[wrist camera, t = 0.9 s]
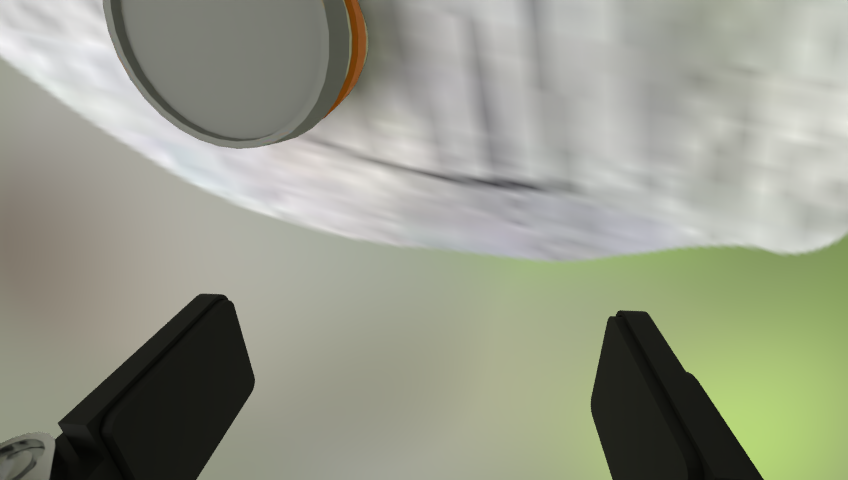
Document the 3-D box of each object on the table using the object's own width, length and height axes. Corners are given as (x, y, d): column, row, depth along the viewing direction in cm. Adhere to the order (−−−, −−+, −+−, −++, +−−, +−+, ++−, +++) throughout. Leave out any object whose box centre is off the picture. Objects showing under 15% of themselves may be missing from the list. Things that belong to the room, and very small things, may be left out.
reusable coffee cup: (362, 137, 37) (299, 187, 24) (233, 80, 36) (92, 98, 23) (412, -9, 32) (368, -51, 18) (262, -81, 31) (100, -181, 17)
